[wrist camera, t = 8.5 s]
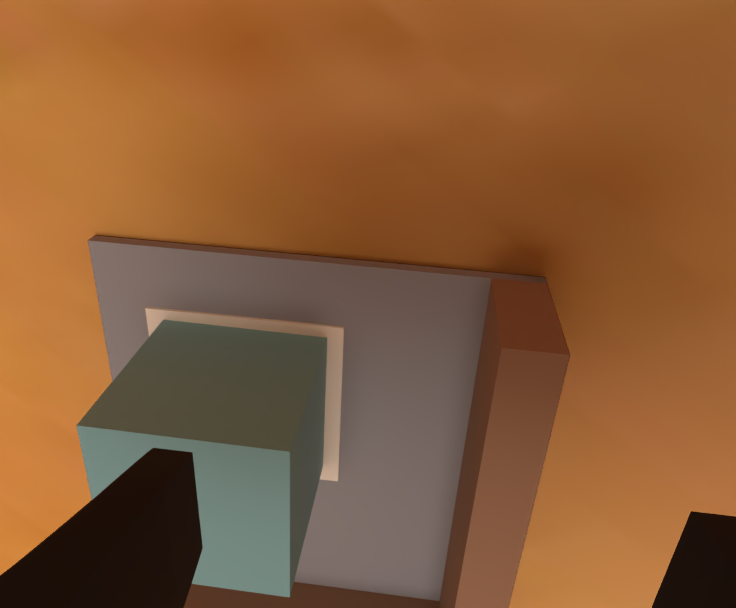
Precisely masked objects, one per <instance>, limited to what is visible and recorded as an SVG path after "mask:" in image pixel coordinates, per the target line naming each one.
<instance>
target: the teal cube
mask: <svg viewBox="0 0 736 608" xmlns="http://www.w3.org/2000/svg"><path fill="white" fill-rule="evenodd" d="M326 365H327V338H326V337H317V336H308V335H299V334H290V333H281V332H272V331H263V330H254V329H245V328H236V327H227V326H218V325H209V324H200V323H191V322H181V321H172V320H162V322H161V323H160V324H159V325H158V327H157V328H156V329H155V330H154V331H153V333H152V334H151V335H150V336H149V338H148V339H147V340H146V341H145V342H144V344H143V345H142V346H141V347H140V349H139V350H138V351H137V352H136V353H135V355H134V356H133V357H132V358H131V360H130V361H129V362H128V363H127V364H126V366H125V367H124V368H123V369H122V371H121V372H120V373H119V374H118V375H117V377H116V378H115V379H114V380H113V382H112V383H111V384H110V385H109V386H108V388H107V389H106V390H105V391H104V393H103V394H102V395H101V396H100V397H99V399H98V400H97V401H96V402H95V404H94V405H93V406H92V407H91V408H90V410H89V411H88V412H87V413H86V415H85V416H84V417H83V418H82V419H81V421H80V422H79V423H78V424H77V430H78V435H79V439H80V444H81V449H82V454H83V459H84V464H85V469H86V473H87V478H88V483H89V488H90V493H91V498H92V499H94V498H95V497H96V496H97V495H98V494H99V493H101V492H102V491H103V490H104V489H105V488H106V487H107V486H109V485H110V484H111V483H112V482H113V481H114V480H115V479H117V478H118V477H119V476H120V475H121V474H122V473H124V472H125V471H126V470H127V469H128V468H129V467H130V466H132V465H133V464H134V463H135V462H136V461H137V460H139V459H140V458H141V457H142V456H143V455H145V454H146V453H147V452H148V451H149V450H151V449H152V448H160V449H169V450H177V451H186V452H192V453H193V462H194V471H195V480H196V490H197V499H198V508H199V518H200V527H201V536H202V546H203V549H202V552H201V555H200V559H199V562H198V565H197V568H196V571H195V575H194V578H193V581H192V584H197V585H204V586H211V587H219V588H226V589H233V590H240V591H247V592H254V593H261V594H268V595H275V596H283V597H290V595H291V591H292V587H293V583H294V579H295V575H296V571H297V567H298V563H299V559H300V555H301V551H302V547H303V543H304V539H305V535H306V531H307V528H308V524H309V520H310V516H311V512H312V508H313V504H314V500H315V496H316V492H317V488H318V484H319V480H320V476H321V472H322V468H323V453H324V424H325V395H326Z"/></svg>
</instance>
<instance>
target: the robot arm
mask: <svg viewBox="0 0 736 608" xmlns="http://www.w3.org/2000/svg"><path fill="white" fill-rule="evenodd" d="M202 549H203V546H202V536H201V527H200V518H199V508H198V499H197V490H196V480H195V471H194V462H193V453H192V452H186V451H177V450H169V449H160V448H152V449H151V450H149V451H148V452H147V453H146V454H145V455H143V456H142V457H141V458H140V459H139V460H137V461H136V462H135V463H134V464H133V465H132V466H130V467H129V468H128V469H127V470H126V471H125V472H124V473H122V474H121V475H120V476H119V477H118V478H117V479H115V480H114V481H113V482H112V483H111V484H110V485H109V486H107V487H106V488H105V489H104V490H103V491H102V492H101V493H99V494H98V495H97V496H96V497H95V498H94V499H92V500H91V501H90V502H89V503H88V504H87V505H85V506H84V507H83V508H82V509H81V510H80V511H78V512H77V513H76V514H75V515H74V516H73V517H71V518H70V519H69V520H68V521H67V522H65V523H64V524H63V525H62V526H61V527H59V528H58V529H57V530H56V531H55V532H53V533H52V534H51V535H50V536H49V537H47V538H46V539H45V540H44V541H43V542H41V543H40V544H39V545H38V546H37V547H35V548H34V549H33V550H32V551H31V552H29V553H28V554H27V555H26V556H24V557H23V558H22V559H21V560H19V561H18V562H17V563H16V564H15V565H13V566H12V567H11V568H9V569H8V570H7V571H6V572H4V573H3V574H2V575H0V608H184V605H185V602H186V599H187V596H188V593H189V590H190V587H191V584H192V581H193V578H194V575H195V571H196V568H197V565H198V562H199V559H200V555H201V552H202ZM652 608H736V517H734V516H726V515H717V514H709V513H700V512H692V511H691V513H690V515H689V518H688V520H687V523H686V525H685V528H684V530H683V532H682V535H681V537H680V540H679V542H678V545H677V547H676V549H675V552H674V554H673V557H672V559H671V562H670V564H669V566H668V569H667V571H666V574H665V576H664V579H663V581H662V583H661V586H660V588H659V591H658V593H657V596H656V598H655V601H654V603H653V605H652Z"/></svg>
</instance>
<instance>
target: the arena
mask: <svg viewBox="0 0 736 608" xmlns="http://www.w3.org/2000/svg"><path fill="white" fill-rule="evenodd" d="M88 244H89V250H90V255H91V261H92V267H93V273H94V278H95V284H96V290H97V295H98V301H99V307H100V313H101V318H102V324H103V330H104V336H105V341H106V347H107V353H108V358H109V364H110V370H111V376H112V381H113V380H114V379H115V378H116V377H117V375H118V374H119V373H120V372H121V371H122V369H123V368H124V367H125V366H126V364H127V363H128V362H129V361H130V360H131V358H132V357H133V356H134V355H135V353H136V352H137V351H138V350H139V349H140V347H141V346H142V345H143V344H144V342H145V341H146V340H147V339H148V338H149V336H150V335H151V334H152V333H153V331H154V330H155V329H156V328H157V327H158V325H159V324H160V323H161V322H162V320H172V321H181V322H191V323H200V324H209V325H218V326H227V327H236V328H245V329H254V330H263V331H272V332H281V333H290V334H299V335H308V336H317V337H326V338H327V365H326V395H325V424H324V453H323V468H322V472H321V476H320V480H319V484H318V488H317V492H316V496H315V500H314V504H313V508H312V512H311V516H310V520H309V524H308V528H307V531H306V535H305V539H304V543H303V547H302V551H301V555H300V559H299V563H298V567H297V571H296V575H295V579H294V583H293V587H292V591H291V595H290V597H283V596H275V595H268V594H261V593H254V592H247V591H240V590H233V589H226V588H219V587H211V586H204V585H197V584H191V587H190V590H189V593H188V596H187V599H186V602H185V605H184V608H509V604H510V600H511V596H512V592H513V588H514V584H515V579H516V575H517V571H518V567H519V563H520V559H521V555H522V551H523V547H524V542H525V538H526V534H527V530H528V526H529V522H530V518H531V514H532V510H533V506H534V501H535V497H536V493H537V489H538V485H539V481H540V477H541V473H542V469H543V464H544V460H545V456H546V452H547V448H548V444H549V440H550V436H551V432H552V428H553V423H554V419H555V415H556V411H557V407H558V403H559V399H560V395H561V391H562V387H563V382H564V378H565V374H566V370H567V366H568V362H569V358H570V353H569V350H568V347H567V344H566V340H565V337H564V334H563V331H562V328H561V325H560V322H559V319H558V316H557V312H556V309H555V306H554V303H553V300H552V297H551V294H550V291H549V288H548V285H547V281H546V278H545V277H537V276H526V275H515V274H505V273H494V272H483V271H472V270H462V269H451V268H440V267H429V266H419V265H408V264H397V263H386V262H376V261H365V260H354V259H343V258H333V257H322V256H311V255H300V254H290V253H279V252H268V251H257V250H247V249H236V248H225V247H215V246H204V245H193V244H182V243H172V242H161V241H150V240H139V239H129V238H118V237H107V236H96V235H95V236H93V237H92V238H91V239H89V240H88Z"/></svg>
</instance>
